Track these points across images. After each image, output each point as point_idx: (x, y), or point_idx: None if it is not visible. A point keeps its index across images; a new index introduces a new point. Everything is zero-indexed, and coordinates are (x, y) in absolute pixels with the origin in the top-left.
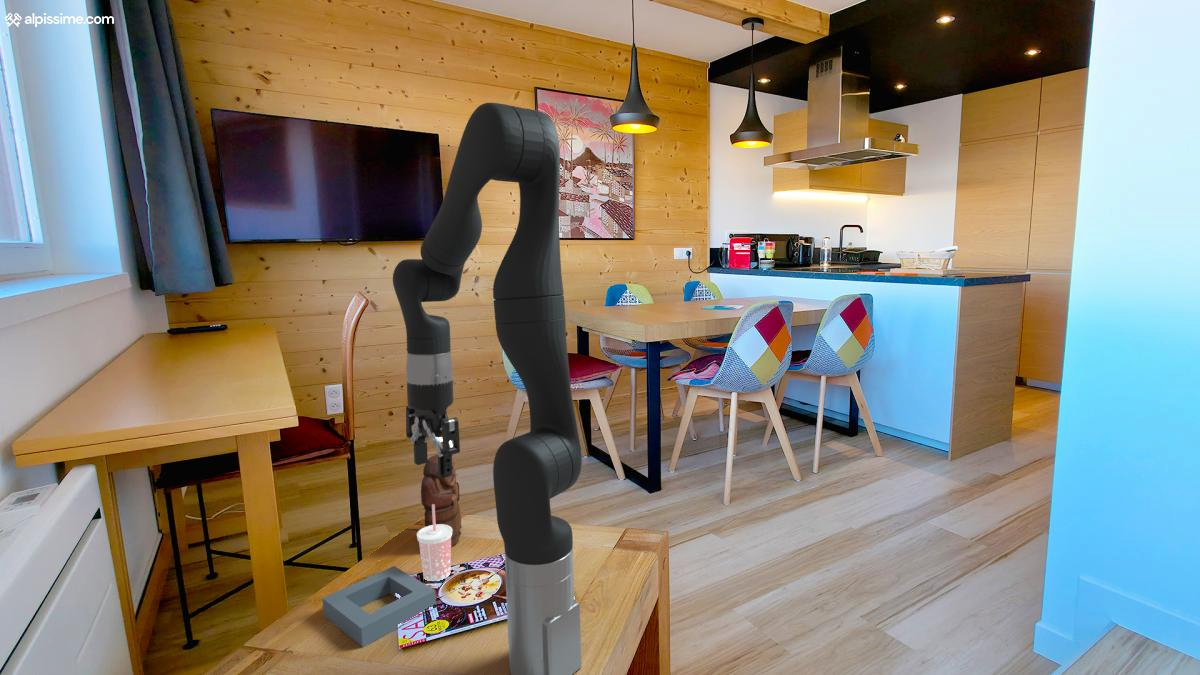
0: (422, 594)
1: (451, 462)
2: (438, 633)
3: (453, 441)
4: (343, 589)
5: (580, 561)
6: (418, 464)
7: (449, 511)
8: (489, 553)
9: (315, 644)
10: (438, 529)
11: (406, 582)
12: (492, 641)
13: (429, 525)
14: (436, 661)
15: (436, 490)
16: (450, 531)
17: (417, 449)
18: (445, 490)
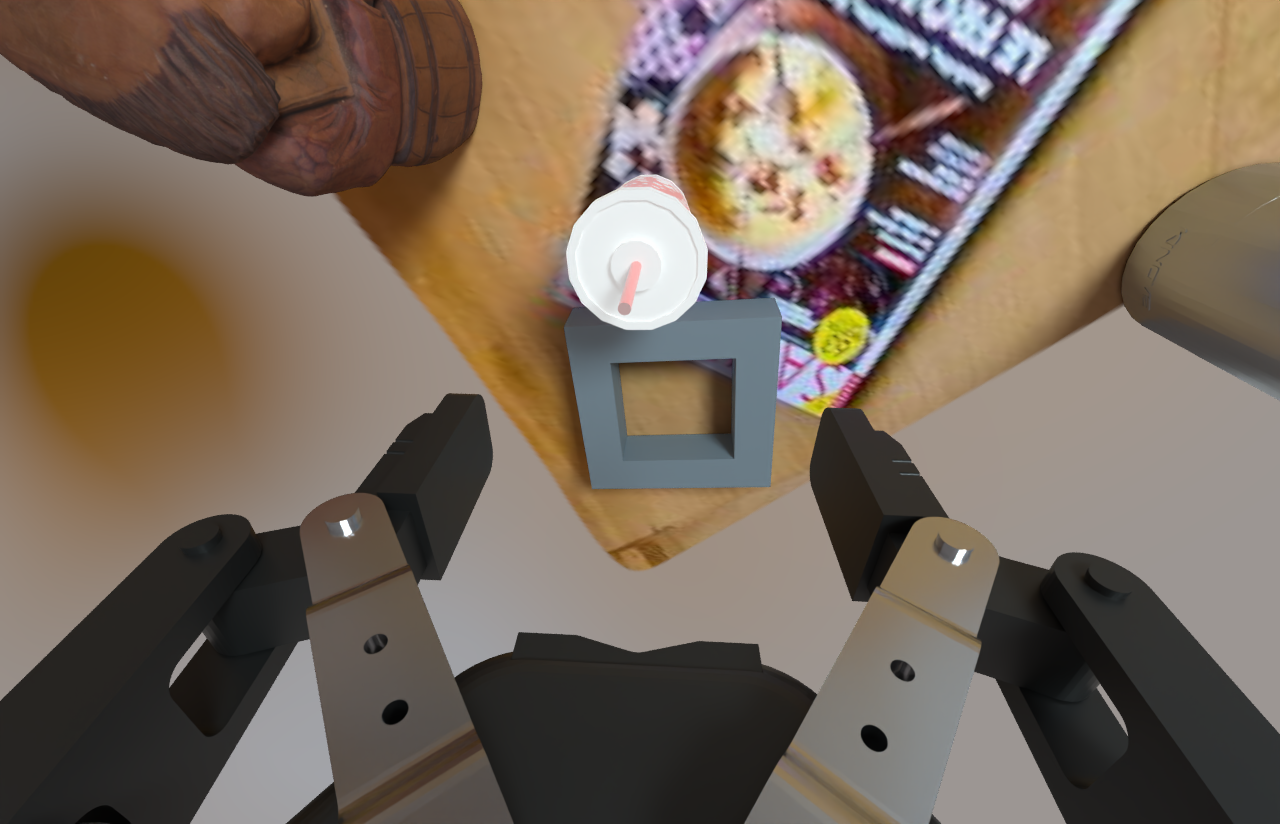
0: (768, 348)
1: (932, 497)
2: (867, 348)
3: (1112, 692)
4: (589, 451)
5: None
6: (491, 450)
7: (410, 37)
8: None
9: (681, 501)
10: (638, 250)
11: (678, 347)
12: (1021, 281)
13: (433, 150)
14: (939, 397)
15: (336, 108)
16: (685, 217)
17: (450, 534)
18: (320, 31)
